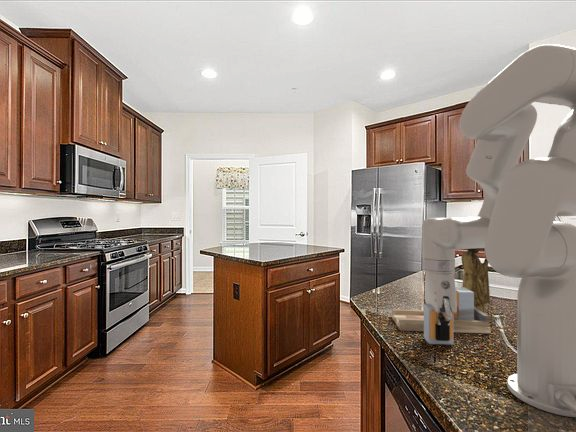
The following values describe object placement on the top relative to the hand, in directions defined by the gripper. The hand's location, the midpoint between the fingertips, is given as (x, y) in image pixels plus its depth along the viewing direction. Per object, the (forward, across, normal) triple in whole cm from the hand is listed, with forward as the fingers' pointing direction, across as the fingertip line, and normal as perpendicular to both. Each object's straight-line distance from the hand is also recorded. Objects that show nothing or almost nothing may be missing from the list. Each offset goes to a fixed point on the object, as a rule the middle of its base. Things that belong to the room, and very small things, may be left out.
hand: (438, 335), depth 83 cm
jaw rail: (+2, +13, -4) cm, 14 cm away
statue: (+2, +26, -21) cm, 33 cm away
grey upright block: (+2, 0, 0) cm, 2 cm away
